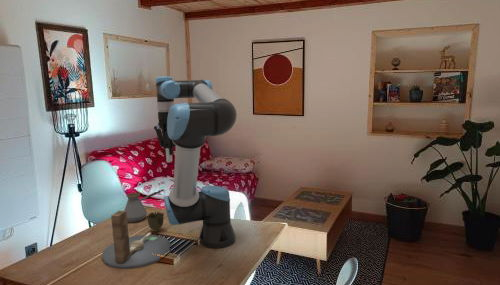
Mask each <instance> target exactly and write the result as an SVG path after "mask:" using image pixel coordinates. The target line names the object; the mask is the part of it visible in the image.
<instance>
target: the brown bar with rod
mask: <svg viewBox="0 0 500 285" xmlns="http://www.w3.org/2000/svg"><path fill="white" fill-rule="evenodd" d="M128 223H129V222H128V221H127V211H124V210H118V211H116V212H115V213H113V214H111V227H112V237H113V243H114V251H115V261H116V262H117V263H124V262H125V261H126V260H127V259H128V258H129V257H130V254H132V253H133V252H134V251H137V250H141V249H143V248H144V244H143V241H144V240H145V239H146V238H147V237H149V236H150V235H152V232H148V233H147V234H145V235H146V236H144V237H143V238H142V239H141V240H137V241H133V242H131V243H130V246H129V237H130V236H129V226H128V225H129V224H128Z"/></svg>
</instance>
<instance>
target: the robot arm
mask: <svg viewBox="0 0 500 285" xmlns="http://www.w3.org/2000/svg"><path fill="white" fill-rule="evenodd" d="M155 90H156V103H157V105H156V106H157V107H156V108H157V117H158V124H157V125H155V126H153V129H154V130H155V133H156V137H157V140H158V143H159V147H161V148H163V150H164V155H165V158H166V159H165V160H166V163H172V162H173V155H175V156H174V171H173V174H174V175H173V187H172V188H171V189H170V191H169V193H168V195H167V196H164V199H163V200H164V207H165V212H166V216H167V220H168V223H169V224H170V225H172V226H176V225H184V224H190V223H195V222H199V221H202V226H201V230H200V233H199V238H198V239H199V240H200V241H199V244H200V245H201V246H202V247H203V248H204V247H205V248H208V249H222V248H226V247H229V246H231V245H233V244H234V243H235V241H236V233H235V230H234V227H233V225H232V223H231V197H230V191H229V190H228V189H227V188H226V187H224V186H219V185H205V186H202V187H201V188H200V191H198V190H197V183H198V175H199V174H198V173H199V165H200V155H201V148H202V147H203V146H205V144H206V141H207V138H208V137H218V136H222V135H224V134H227V133H228V132H229V131H230V130H231V129H233V127H234V125H235V123H236V121H237V115H238V114H237V110H236V107H235V105H234V104H233V103H232V102H231V101H230V100H228V99H226V98H222V97H221V96H220V95H219V94H217V92H215V91H214V89H213V84H212V82H211V81H210V80H208V79H198V80H197V79H195V80H194V79H191V80H187V79H186V80H173V77H172V76H156V78H155ZM190 98H191V99H192V98H193V99H195V100H196V101H197V102H190V103H188V102H181V103H175V99H190ZM174 148H175V151H174ZM174 152H175V154H174Z"/></svg>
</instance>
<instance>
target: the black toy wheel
mask: <svg viewBox="0 0 500 285" xmlns="http://www.w3.org/2000/svg"><path fill="white" fill-rule="evenodd" d="M146 218H147V224H148V227H149V228H150V229H151V230H152V232H153V233H158V232H160V231H161V228H162V227H163V225H164V213H163V212H159V211H157V212H156V211H155V212H151V213H148V215H146Z"/></svg>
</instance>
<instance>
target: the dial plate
mask: <svg viewBox="0 0 500 285" xmlns="http://www.w3.org/2000/svg"><path fill="white" fill-rule="evenodd" d="M146 235H147V234H141V235H140V234H139V235H134V236H129V246H130V243H131V242H133V241H137V240H141V239H142V238H143V237H144V236H146ZM143 244H144V248H143V249H141V250H137V251H134V252H133V253H132V254H130V257H129V258H128V259H127V260H126V261H125V262H124V263H117V262H116V261H115V251H114V242H112V243H111V244H109V245H108V246H106V247H105V249H104V250H103V251H102V253H101V257H102V262H103V263H104V265H106V266H107V267H110V268H114V269H119V270H121V269H124V270H125V269H127V270H128V269H137V268H143V267H147V266H150V265H152V264H155V263H158V262H159V261H160V260H159V259H160V256H157V254H160V255H164V254H165V253H167V252H168V251H169V250H170V247H171V242H170V240H169V239H168V238H166V237H164V236H160V235H156V234H155V235H154V234H151V235H150V236H149V237H147V238H146V239H145V240H144V241H143ZM170 251H171V250H170ZM152 253H153V254H154V255H153V254H152ZM155 254H156V255H155Z"/></svg>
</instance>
